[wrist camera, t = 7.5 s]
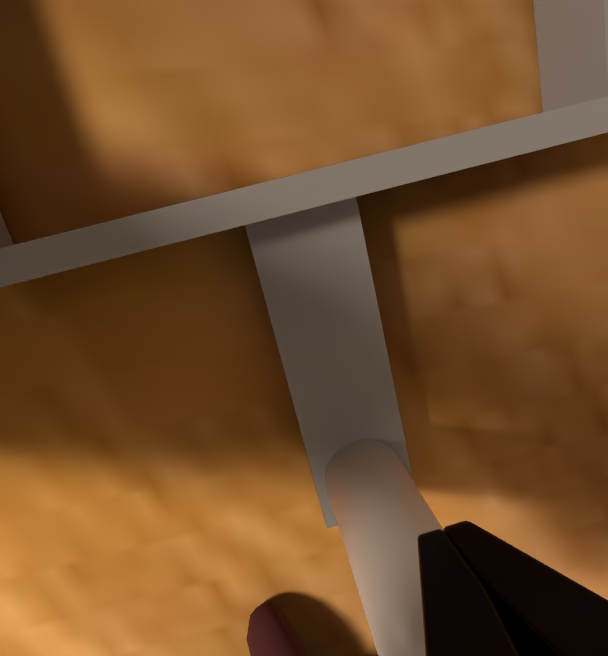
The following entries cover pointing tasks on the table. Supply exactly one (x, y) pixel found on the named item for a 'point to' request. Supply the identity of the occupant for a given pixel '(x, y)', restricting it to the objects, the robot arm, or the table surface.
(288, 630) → the icecream
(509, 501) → the table surface
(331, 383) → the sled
